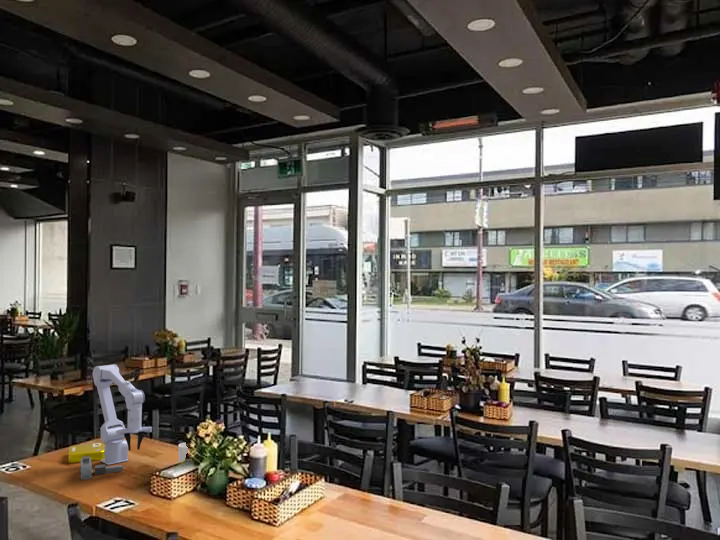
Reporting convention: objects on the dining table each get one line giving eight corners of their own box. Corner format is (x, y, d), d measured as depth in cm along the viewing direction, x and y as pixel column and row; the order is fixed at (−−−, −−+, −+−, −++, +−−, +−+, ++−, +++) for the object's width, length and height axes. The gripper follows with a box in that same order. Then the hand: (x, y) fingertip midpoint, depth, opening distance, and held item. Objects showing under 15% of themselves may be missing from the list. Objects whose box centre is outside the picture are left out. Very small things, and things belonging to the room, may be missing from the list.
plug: (122, 469, 258) (122, 462, 258) (122, 471, 254) (123, 464, 254) (92, 472, 252) (92, 465, 252) (92, 475, 249) (92, 468, 249)
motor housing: (90, 469, 256) (90, 455, 256) (91, 478, 245) (92, 463, 245) (80, 471, 254) (80, 456, 254) (81, 479, 243) (81, 464, 243)
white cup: (185, 471, 256) (185, 448, 256) (174, 467, 261) (174, 444, 261) (199, 466, 262) (200, 444, 262) (188, 463, 267) (189, 441, 267)
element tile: (69, 455, 277) (69, 444, 277) (103, 451, 284) (104, 441, 284) (68, 464, 264) (68, 453, 264) (104, 460, 270) (104, 450, 270)
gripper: (117, 422, 251) (116, 454, 251) (153, 419, 258) (152, 450, 258) (116, 418, 258) (115, 449, 257) (150, 415, 264) (150, 445, 264)
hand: (133, 449), depth 258 cm, fingers open, 3 cm apart
